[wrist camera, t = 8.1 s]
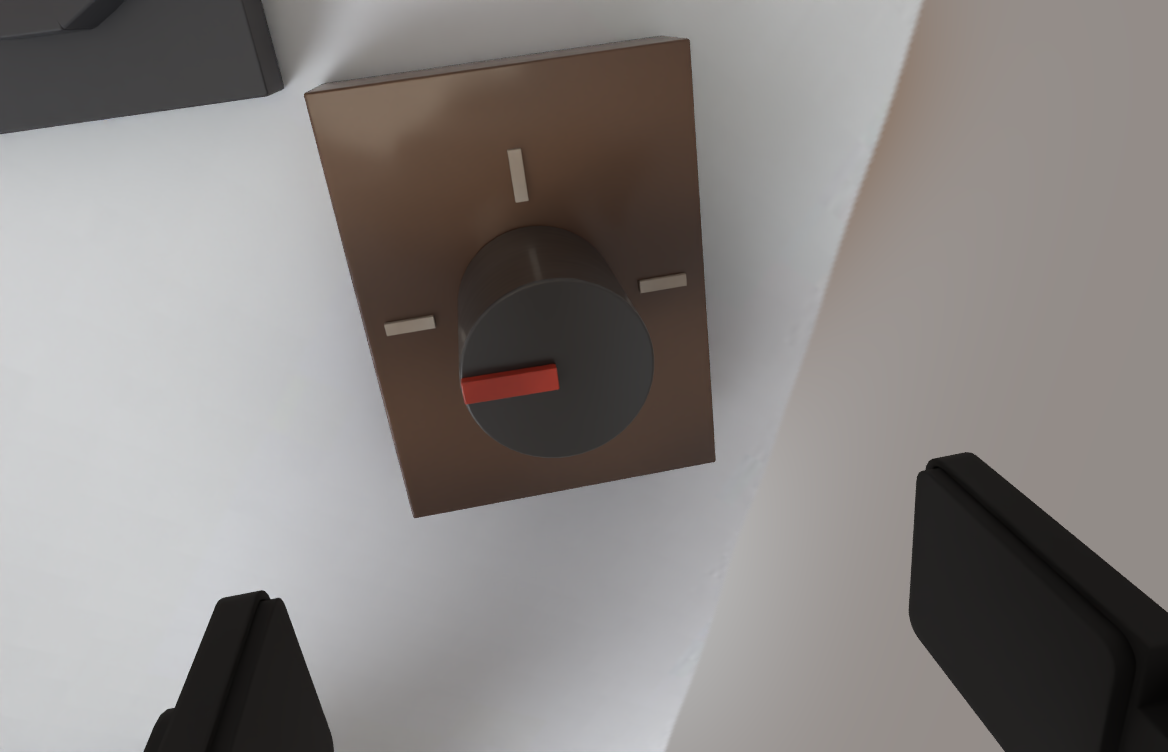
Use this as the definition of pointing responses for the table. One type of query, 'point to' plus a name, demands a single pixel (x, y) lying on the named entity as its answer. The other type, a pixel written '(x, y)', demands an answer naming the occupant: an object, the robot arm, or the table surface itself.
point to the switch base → (128, 58)
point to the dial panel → (507, 202)
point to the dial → (550, 344)
